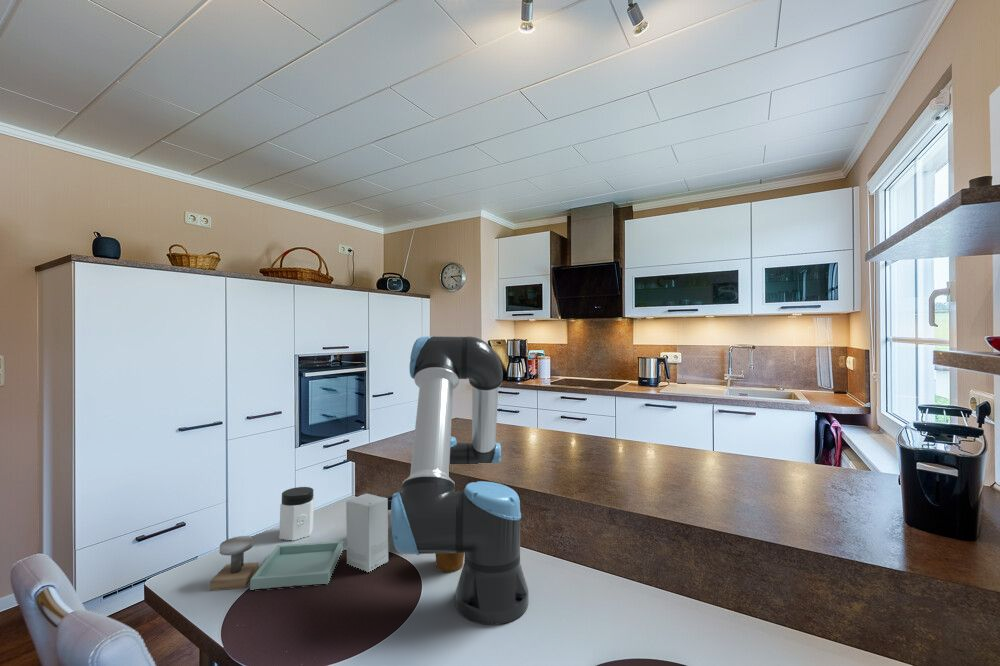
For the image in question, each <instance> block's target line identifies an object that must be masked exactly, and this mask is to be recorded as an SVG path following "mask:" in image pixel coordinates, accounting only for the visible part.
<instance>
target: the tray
mask: <svg viewBox="0 0 1000 666" xmlns="http://www.w3.org/2000/svg"><path fill="white" fill-rule="evenodd" d="M342 551H343V552H344V540H338V541H337V540H335V541H324V542H323V541H322V542H307V543H306V542H305V543H294V544H293V543H292V544H279V545H276V547H275V548H274V549H273V550H272V552H271V553H270V554H269V555H268V556H267V558H266V559H265V560H264V561H263V563H262V564H261V566H259V569H258V570H257V572H256V573H255V574H254V575H253V577H252V578H251V579H250V582H249V591H250V590H254V589H260V588H271V587H282V586H293V585H310V584H311V585H312V584H326V585H329V584H328V583H330V582H329V581H331V579H332V577H331V576H333V575H332V573H333V574H334V572H335V570H336V568H335V566H336V564H337V565H338V563H339V561H340V559H339V557H340V555H341V556H342V554H343V552H342ZM341 553H342V554H341ZM340 558H341V557H340ZM338 560H339V561H338ZM337 562H338V563H337ZM336 567H337V566H336ZM334 569H335V570H334ZM333 571H334V572H333ZM330 578H331V579H330Z"/></svg>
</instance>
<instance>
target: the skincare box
mask: <svg viewBox="0 0 1000 666" xmlns="http://www.w3.org/2000/svg"><path fill="white" fill-rule="evenodd" d="M384 497H385V496H378V495H375V494H371V493H364V494H361V495H359V496H356V497H353V498H350V499H348V500H346V503H345V504H346V506H345V507H346V508H345V511H346V519H345V520H346V565H347V564H349V565H348V566H350V565H351V566H350V567H352V566H353V567H352V568H355V567H356V568H355V569H357V568H359V569H358V570H360V569H361V570H360V571H363V570H364V571H363V572H365V571H366V572H365V573H368V572H369V573H371V572H373V571H375V570H377V569H378V568H377V567H379V566H380V567H382V566H383V564H384V565H385V564H387V563H389V521H388V520H389V519H388V518H389V516H388V515H389V512H388V511H389V510H388V498H384ZM381 565H382V566H381ZM380 567H379V568H380ZM376 568H377V569H376ZM374 569H375V570H374ZM372 570H373V571H372ZM370 571H371V572H370Z"/></svg>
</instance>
